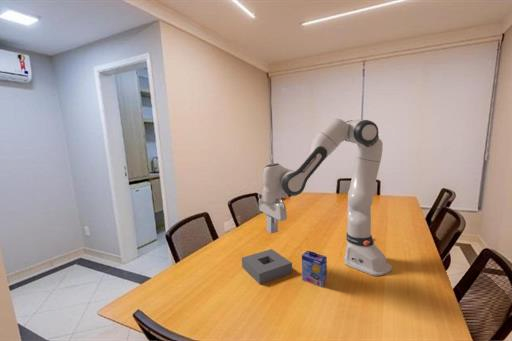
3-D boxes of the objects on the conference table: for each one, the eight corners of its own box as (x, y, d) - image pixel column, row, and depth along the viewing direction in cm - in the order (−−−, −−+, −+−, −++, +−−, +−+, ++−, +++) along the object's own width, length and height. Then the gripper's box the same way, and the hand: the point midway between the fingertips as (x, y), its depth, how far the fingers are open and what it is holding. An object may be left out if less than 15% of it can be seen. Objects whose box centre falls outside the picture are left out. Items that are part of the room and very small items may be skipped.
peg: (277, 231, 121) (277, 216, 120) (270, 233, 119) (270, 217, 118) (273, 229, 124) (273, 214, 123) (266, 230, 123) (266, 215, 121)
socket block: (292, 272, 118) (291, 262, 118) (259, 284, 110) (259, 273, 109) (271, 257, 134) (271, 248, 133) (242, 266, 125) (241, 257, 125)
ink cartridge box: (301, 280, 112) (301, 249, 110) (307, 274, 116) (306, 245, 114) (321, 287, 105) (321, 255, 104) (327, 282, 110) (327, 251, 108)
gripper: (290, 200, 112) (290, 229, 114) (266, 192, 130) (267, 217, 132) (278, 202, 109) (278, 232, 111) (256, 193, 127) (256, 219, 129)
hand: (272, 224), depth 121 cm, fingers closed on peg, 4 cm apart
